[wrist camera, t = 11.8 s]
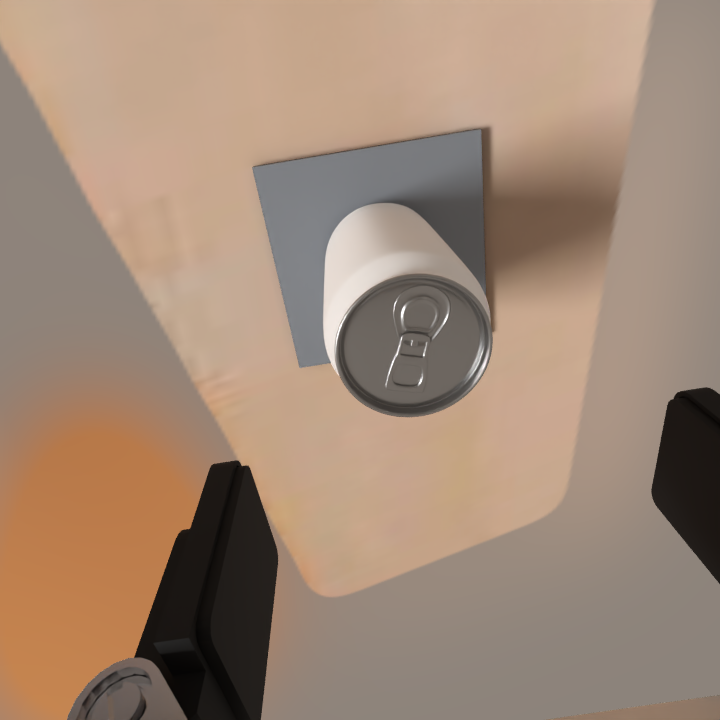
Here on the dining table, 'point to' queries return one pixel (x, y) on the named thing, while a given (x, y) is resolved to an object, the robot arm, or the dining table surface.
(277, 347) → the dining table surface
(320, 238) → the mat
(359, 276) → the can
